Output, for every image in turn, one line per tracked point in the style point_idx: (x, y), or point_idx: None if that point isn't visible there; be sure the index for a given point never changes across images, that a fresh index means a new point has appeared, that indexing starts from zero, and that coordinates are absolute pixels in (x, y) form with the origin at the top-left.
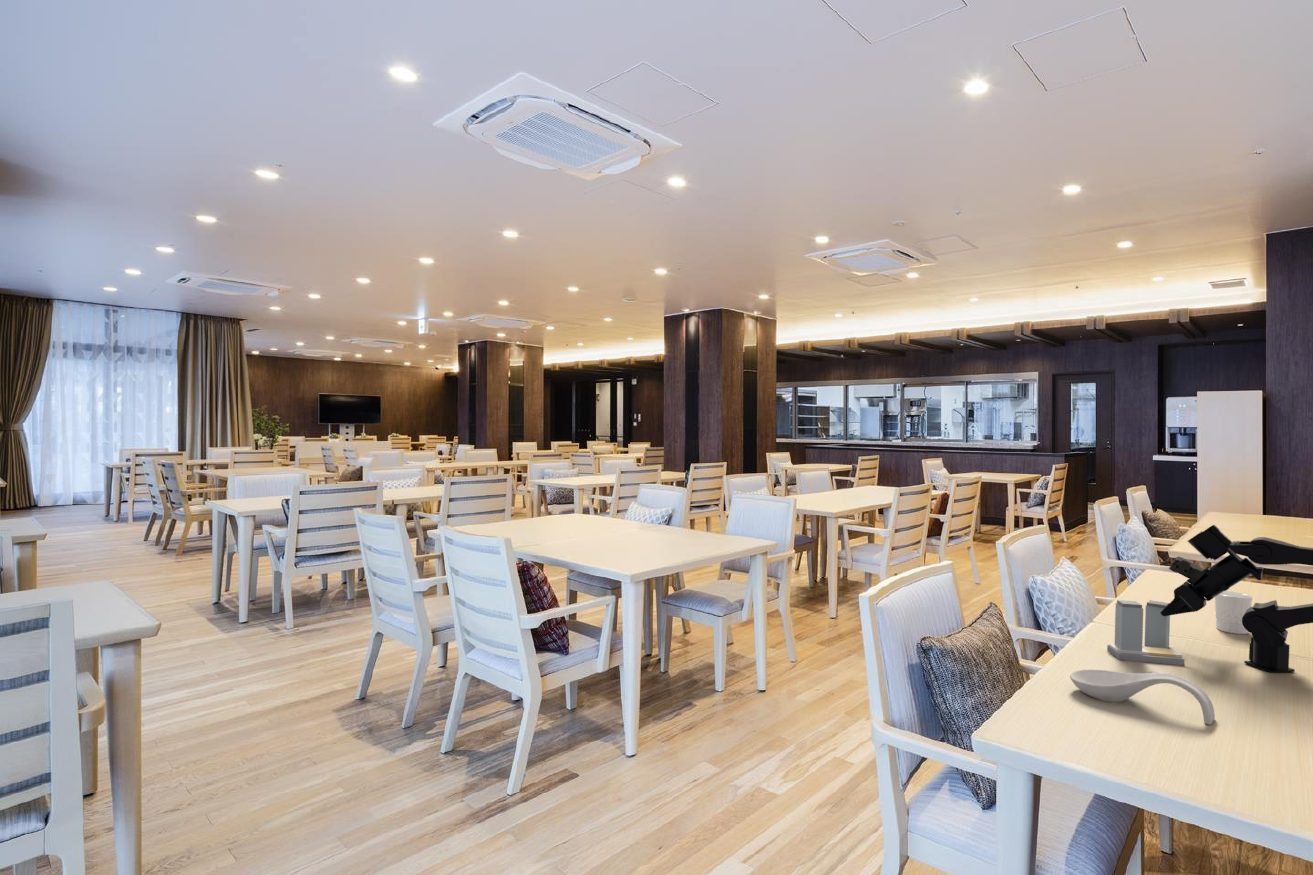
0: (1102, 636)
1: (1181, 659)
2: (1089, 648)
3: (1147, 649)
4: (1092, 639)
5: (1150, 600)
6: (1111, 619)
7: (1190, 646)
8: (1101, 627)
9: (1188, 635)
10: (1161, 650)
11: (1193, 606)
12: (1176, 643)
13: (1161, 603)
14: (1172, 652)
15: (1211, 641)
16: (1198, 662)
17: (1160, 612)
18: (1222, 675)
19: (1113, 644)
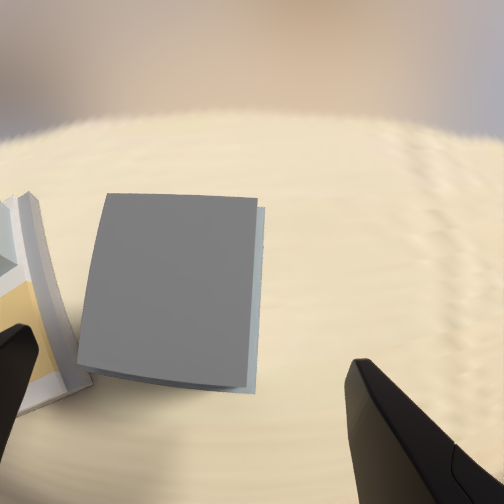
0: (216, 149)
1: None
2: (39, 161)
3: (2, 305)
4: (147, 137)
5: (242, 203)
6: (476, 156)
7: (326, 441)
8: (353, 133)
9: (488, 385)
10: None
11: None
12: (335, 390)
13: (153, 316)
14: None
15: None
16: (80, 467)
17: (18, 323)
18: (7, 495)
19: (11, 206)
